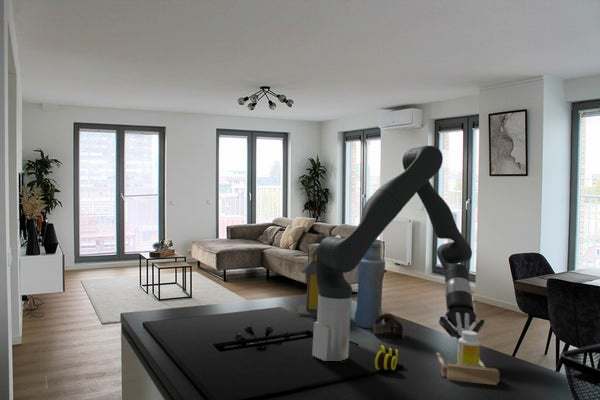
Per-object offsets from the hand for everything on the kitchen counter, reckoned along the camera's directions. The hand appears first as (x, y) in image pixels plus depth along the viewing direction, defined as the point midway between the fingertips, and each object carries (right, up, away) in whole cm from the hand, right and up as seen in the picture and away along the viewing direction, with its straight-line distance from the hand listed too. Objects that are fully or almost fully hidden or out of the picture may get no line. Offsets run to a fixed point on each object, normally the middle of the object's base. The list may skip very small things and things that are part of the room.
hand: (464, 350), depth 140 cm
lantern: (-39, -1, +52) cm, 65 cm away
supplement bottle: (0, -5, -3) cm, 6 cm away
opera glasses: (-22, -4, -4) cm, 23 cm away
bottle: (-22, -3, +38) cm, 44 cm away
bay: (-1, -4, -1) cm, 5 cm away
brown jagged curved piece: (-16, -3, +27) cm, 31 cm away
